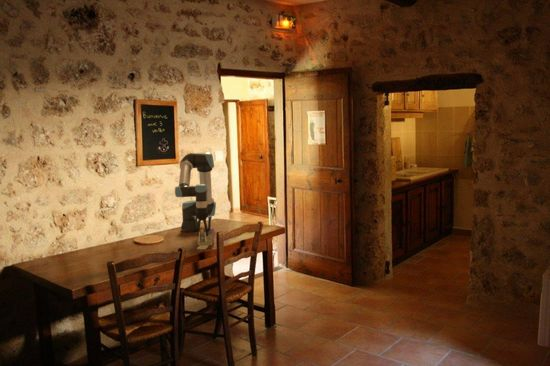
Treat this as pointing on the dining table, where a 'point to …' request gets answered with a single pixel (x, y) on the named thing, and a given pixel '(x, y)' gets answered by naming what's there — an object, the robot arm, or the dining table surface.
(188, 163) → the robot arm
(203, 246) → the joist line
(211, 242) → the box
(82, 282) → the dining table surface
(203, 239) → the awl
